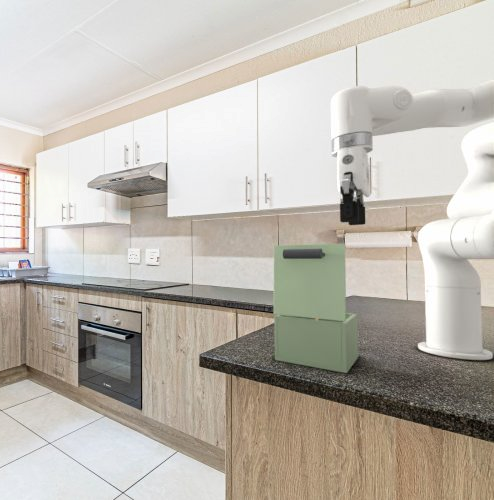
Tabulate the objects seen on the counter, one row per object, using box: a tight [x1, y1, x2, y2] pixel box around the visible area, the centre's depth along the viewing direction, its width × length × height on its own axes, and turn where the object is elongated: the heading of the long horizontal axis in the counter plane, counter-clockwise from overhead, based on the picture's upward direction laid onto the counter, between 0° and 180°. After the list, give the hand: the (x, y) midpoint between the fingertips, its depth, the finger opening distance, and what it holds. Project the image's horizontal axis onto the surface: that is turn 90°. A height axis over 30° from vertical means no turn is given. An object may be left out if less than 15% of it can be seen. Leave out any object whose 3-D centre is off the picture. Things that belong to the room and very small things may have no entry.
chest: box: [273, 312, 359, 374], centre depth 78 cm, size 15×14×10 cm
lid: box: [273, 243, 347, 321], centre depth 72 cm, size 15×14×5 cm
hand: (353, 223), depth 76 cm, fingers open, 9 cm apart
